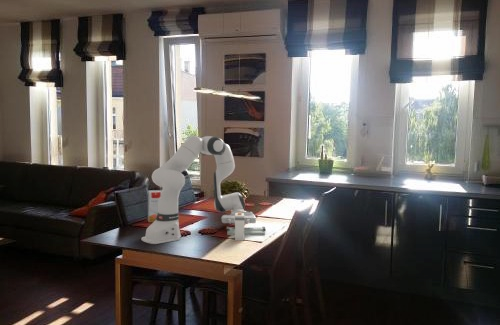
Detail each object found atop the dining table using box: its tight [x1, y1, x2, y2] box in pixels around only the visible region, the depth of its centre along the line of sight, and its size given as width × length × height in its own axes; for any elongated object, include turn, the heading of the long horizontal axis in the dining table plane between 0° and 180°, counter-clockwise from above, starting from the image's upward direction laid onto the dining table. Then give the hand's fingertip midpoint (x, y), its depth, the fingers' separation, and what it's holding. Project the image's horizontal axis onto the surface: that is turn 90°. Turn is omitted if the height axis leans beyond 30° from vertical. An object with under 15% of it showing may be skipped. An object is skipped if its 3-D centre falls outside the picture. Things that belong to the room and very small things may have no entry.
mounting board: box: [226, 230, 266, 236], centre depth 258 cm, size 22×10×2 cm, turn 93°
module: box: [234, 212, 245, 241], centre depth 244 cm, size 7×5×15 cm
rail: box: [226, 226, 266, 232], centre depth 258 cm, size 23×5×2 cm, turn 93°
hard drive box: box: [147, 189, 163, 223], centre depth 283 cm, size 16×8×20 cm, turn 105°
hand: (239, 222), depth 250 cm, fingers open, 8 cm apart
